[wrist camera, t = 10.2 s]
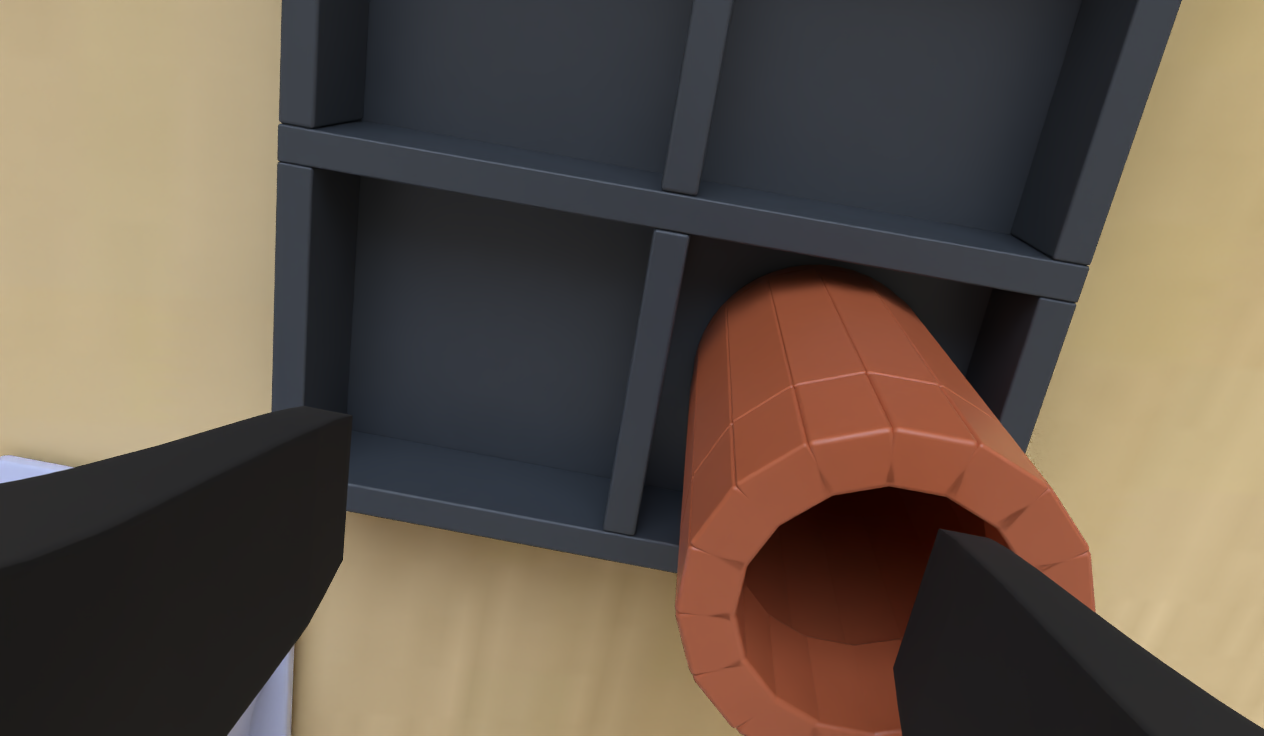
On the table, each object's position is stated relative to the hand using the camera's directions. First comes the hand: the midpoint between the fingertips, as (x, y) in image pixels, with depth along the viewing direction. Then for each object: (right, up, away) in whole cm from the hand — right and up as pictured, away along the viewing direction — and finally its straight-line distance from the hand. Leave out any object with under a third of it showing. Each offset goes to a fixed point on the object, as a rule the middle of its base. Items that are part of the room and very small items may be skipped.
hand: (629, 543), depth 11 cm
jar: (+4, +2, +9) cm, 10 cm away
